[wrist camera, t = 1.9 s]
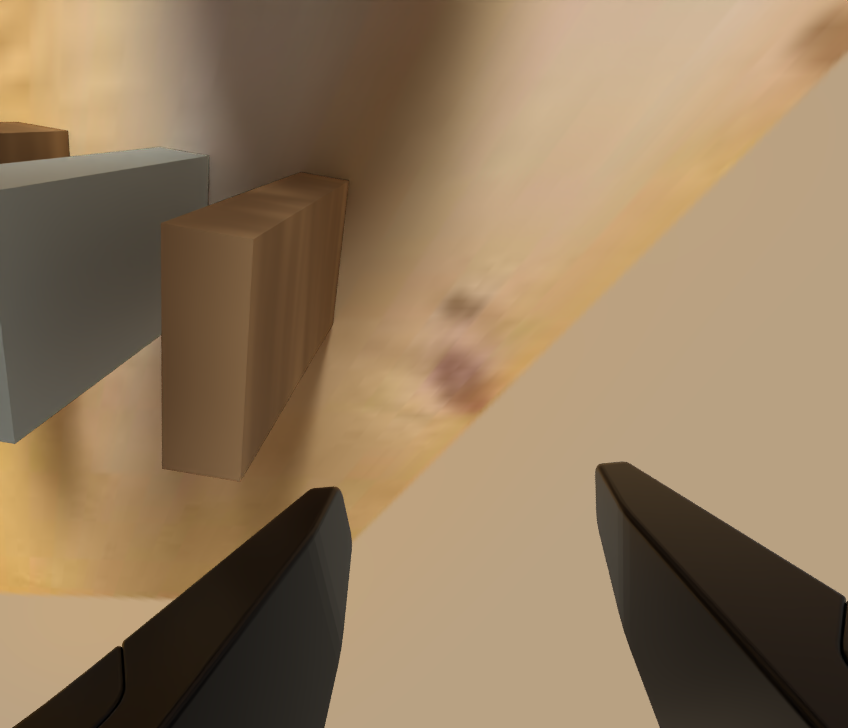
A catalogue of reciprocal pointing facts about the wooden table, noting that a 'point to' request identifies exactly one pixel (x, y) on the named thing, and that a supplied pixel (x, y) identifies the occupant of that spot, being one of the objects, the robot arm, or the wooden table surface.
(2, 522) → the wooden table surface
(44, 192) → the domino
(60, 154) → the domino
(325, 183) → the domino
